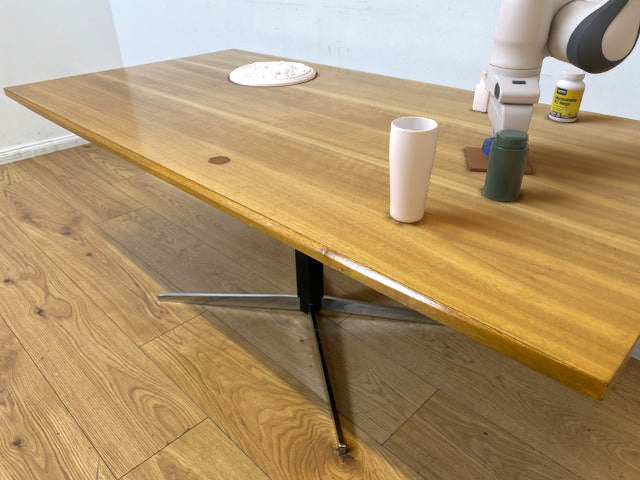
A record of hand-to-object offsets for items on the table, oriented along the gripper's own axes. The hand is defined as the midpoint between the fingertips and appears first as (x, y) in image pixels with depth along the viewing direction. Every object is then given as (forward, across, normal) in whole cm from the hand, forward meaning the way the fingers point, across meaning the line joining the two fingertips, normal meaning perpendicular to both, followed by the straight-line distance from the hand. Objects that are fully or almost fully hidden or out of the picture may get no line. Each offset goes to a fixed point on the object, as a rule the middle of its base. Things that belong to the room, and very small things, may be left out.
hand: (498, 153), depth 94 cm
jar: (+2, +15, -1) cm, 15 cm away
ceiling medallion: (+2, -65, -62) cm, 90 cm away
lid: (-2, 0, 0) cm, 2 cm away
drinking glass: (+2, +25, -17) cm, 30 cm away
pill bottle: (+2, -29, +19) cm, 35 cm away
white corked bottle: (+2, -34, +1) cm, 34 cm away
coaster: (+2, 0, 0) cm, 2 cm away
